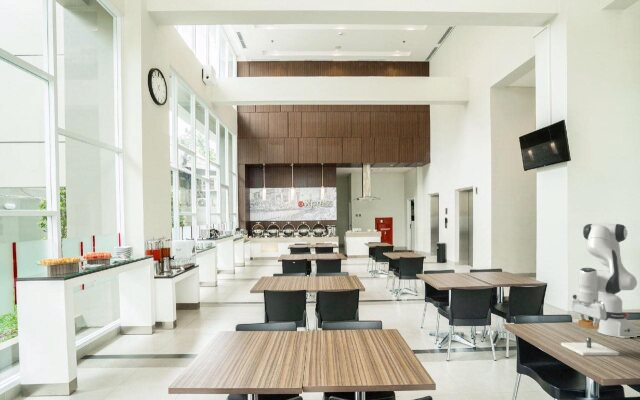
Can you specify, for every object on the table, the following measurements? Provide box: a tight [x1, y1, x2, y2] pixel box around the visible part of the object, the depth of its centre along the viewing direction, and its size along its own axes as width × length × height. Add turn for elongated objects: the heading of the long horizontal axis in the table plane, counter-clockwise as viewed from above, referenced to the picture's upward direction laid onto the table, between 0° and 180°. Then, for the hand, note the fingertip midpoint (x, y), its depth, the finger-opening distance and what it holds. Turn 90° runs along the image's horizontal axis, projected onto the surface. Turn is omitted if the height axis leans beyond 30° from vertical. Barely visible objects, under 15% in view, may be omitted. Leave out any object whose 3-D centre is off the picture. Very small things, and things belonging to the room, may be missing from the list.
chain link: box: [578, 319, 600, 330], centre depth 208 cm, size 6×6×3 cm
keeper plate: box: [560, 337, 620, 357], centre depth 208 cm, size 20×16×6 cm
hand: (588, 324), depth 208 cm, fingers closed on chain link, 6 cm apart
